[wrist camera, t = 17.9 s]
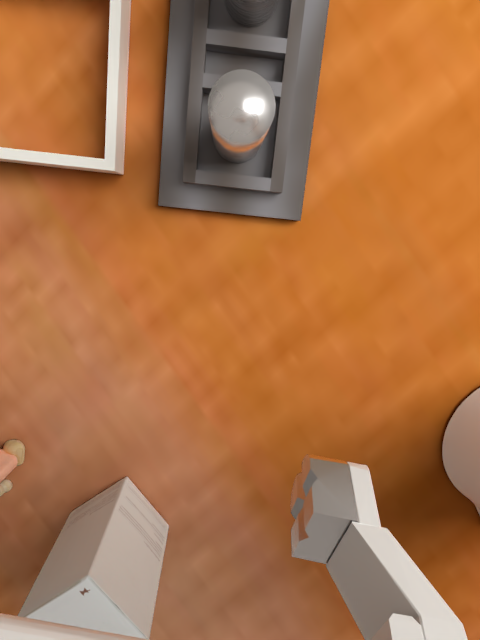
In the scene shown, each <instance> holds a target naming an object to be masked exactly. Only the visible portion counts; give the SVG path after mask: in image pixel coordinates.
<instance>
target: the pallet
mask: <svg viewBox="0 0 480 640" xmlns="http://www.w3.org/2000/svg"><path fill="white" fill-rule="evenodd" d="M328 7H329V0H277V3H276V7H275V10H274V12H273V14H272V16H271V17H270V18H269V19H268V20H267V21H266V22H265V23H263V24H262V25H259V26H256V27H245V26H242V25H240V24H238V23H237V22H235V21H234V20H233V19H232V18H231V16H230V15H229V13H228V11H227V9H226V6H225V0H171V5H170V22H169V38H168V55H167V71H166V88H165V104H164V121H163V137H162V153H161V170H160V186H159V203H158V205H159V206H167V207H177V208H186V209H195V210H205V211H214V212H223V213H233V214H242V215H251V216H261V217H270V218H279V219H289V220H298V221H301V213H302V206H303V198H304V190H305V183H306V175H307V167H308V160H309V152H310V145H311V137H312V129H313V122H314V114H315V106H316V99H317V91H318V83H319V76H320V68H321V60H322V53H323V45H324V38H325V30H326V22H327V15H328ZM238 69H246V70H250V71H253V72H255V73H257V74H259V75H260V76H262V77H263V78H264V79H265V80H266V81H267V82H268V84H269V85H270V87H271V89H272V91H273V93H274V97H275V103H276V109H275V116H274V119H273V122H272V124H271V126H270V128H269V130H268V132H267V134H266V137H265V139H264V141H263V143H262V145H261V147H260V149H259V151H258V153H257V154H256V155H255V156H254V157H253V158H252V159H250V160H248V161H246V162H242V163H233V162H230V161H228V160H226V159H224V158H223V157H222V156H221V155H220V154H219V153H218V151H217V150H216V148H215V145H214V141H213V136H212V130H211V124H210V119H209V113H208V99H209V95H210V92H211V89H212V87H213V86H214V84H215V83H216V81H217V80H218V79H219V78H220V77H221V76H223V75H224V74H226V73H228V72H230V71H233V70H238Z"/></svg>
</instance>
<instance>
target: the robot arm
mask: <svg viewBox="0 0 480 640" xmlns="http://www.w3.org/2000/svg"><path fill="white" fill-rule="evenodd" d="M442 457H443V463H444V467H445V470H446V473H447V475H448V477H449V479H450V480H451V482H452V483H453V485H454V486H455V487H456V488H457V489H458V490H459V491H460V492H461V493H462V494H463V495H465V496H466V497H467V498H468V499H469V500H471V501H472V502H473V503H474V504H475V506H476V509H477V511H478V513H479V515H480V388H479V389H477V390H476V391H474V392H473V393H472V394H471V395H469V396H468V397H467V398H466V399H465V400H464V401H463V402H462V404H461V405H460V406H459V407H458V408H457V410H456V411H455V413H454V414H453V416H452V418H451V419H450V421H449V423H448V426H447V428H446V431H445V435H444V439H443V446H442ZM291 514H292V515H293V517H294V518H295V522H294V524H293V527H292V529H291V545H292V557H296V558H301V559H305V560H310V561H314V562H319V563H324V564H327V565H326V567H327V569H328V571H329V573H330V575H331V577H332V579H333V580H334V582H335V584H336V586H337V588H338V590H339V592H340V594H341V596H342V597H343V599H344V601H345V603H346V605H347V607H348V609H349V611H350V612H351V614H352V616H353V618H354V620H355V622H356V624H357V626H358V628H359V629H360V631H361V633H362V635H363V637H364V639H365V640H467V636H466V633H465V630H464V626H463V624H462V623H461V621H460V620H459V619H458V618H457V616H456V615H455V614H454V613H453V611H452V610H451V609H450V608H449V606H448V605H447V604H446V602H445V601H444V600H443V599H442V597H441V596H440V595H439V594H438V592H437V591H436V590H435V588H434V587H433V586H432V585H431V583H430V582H429V581H428V580H427V578H426V577H425V576H424V574H423V573H422V572H421V571H420V569H419V568H418V567H417V566H416V564H415V563H414V562H413V560H412V559H411V558H410V557H409V555H408V554H407V553H406V552H405V550H404V549H403V548H402V546H401V545H400V544H399V543H398V541H397V540H396V539H395V538H394V536H393V535H392V534H391V532H390V531H389V530H388V529H387V528H384V527H381V524H380V519H379V514H378V509H377V504H376V499H375V495H374V490H373V485H372V480H371V475H370V470H369V468H368V467H367V465H362V464H357V463H352V462H346V461H343V460H337V459H332V458H327V457H321V456H316V455H310V454H307V455H306V456H305V457H304V459H303V462H302V472H301V473H299V474H297V476H296V478H295V481H294V484H293V489H292V494H291ZM0 640H148V639H143V638H137V637H132V636H126V635H120V634H115V633H109V632H104V631H98V630H92V629H87V628H81V627H76V626H70V625H64V624H59V623H53V622H48V621H42V620H36V619H31V618H25V617H20V616H14V615H8V614H3V613H0Z"/></svg>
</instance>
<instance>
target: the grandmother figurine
mask: <svg viewBox="0 0 480 640" xmlns="http://www.w3.org/2000/svg"><path fill="white" fill-rule="evenodd" d="M24 454H25V447H24V445H23V443H22V442H21V441H19V440H9V441H7V442H6V443H5V444H4V446H3V449H2V450H0V482H1V483H0V496H2V495H3V494H4V493H6V492H8V491H10V490H11V489H12V486H13V484H12V482H11V481H10V480H8V479H6V480H4V479H5V478H6V476H7V475H8V474H9V473H10V472H11V471H12V470H13V469H14V468H15V467H16V466H19V465H21V464H23V462H24ZM2 480H3V481H2Z"/></svg>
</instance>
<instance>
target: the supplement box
mask: <svg viewBox="0 0 480 640" xmlns="http://www.w3.org/2000/svg"><path fill="white" fill-rule="evenodd" d="M168 530H169V525H168V524H167V523H166V521H165V520H164V519H163V518H162V517H161V515H160V514H159V513H158V512H157V511H156V510H155V508H154V507H153V506H152V505H151V504H150V503H149V501H148V500H147V499H146V498H145V497H144V495H143V494H142V493H141V492H140V491H139V490H138V488H137V487H136V486H135V485H134V484H133V483H132V481H131V480H130V479H129V478H128V477H127V476H126V477H125V478H123V479H121V480H120V481H118V482H117V483H115V484H114V485H112V486H111V487H109V488H107V489H106V490H104V491H103V492H101V493H100V494H98V495H96V496H95V497H93V498H92V499H90V500H89V501H87V502H86V503H84V504H83V505H81V506H79V507H78V508H76V509H75V510H73V511H72V512H71V513H70V514H69V516H68V518H67V520H66V522H65V524H64V526H63V528H62V530H61V532H60V534H59V536H58V538H57V540H56V542H55V544H54V546H53V548H52V550H51V552H50V554H49V555H48V557H47V559H46V561H45V563H44V565H43V567H42V569H41V571H40V573H39V575H38V577H37V579H36V581H35V583H34V585H33V587H32V589H31V590H30V593H29V594H28V596H27V598H26V600H25V602H24V604H23V606H22V608H21V610H20V612H19V614H18V616H20V617H25V618H31V619H36V620H42V621H48V622H53V623H59V624H64V625H70V626H76V627H81V628H87V629H92V630H98V631H104V632H109V633H115V634H120V635H126V636H132V637H137V638H143V639H148V640H149V639H150V632H151V626H152V620H153V615H154V609H155V603H156V598H157V592H158V587H159V581H160V575H161V570H162V564H163V558H164V553H165V547H166V541H167V535H168Z"/></svg>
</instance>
